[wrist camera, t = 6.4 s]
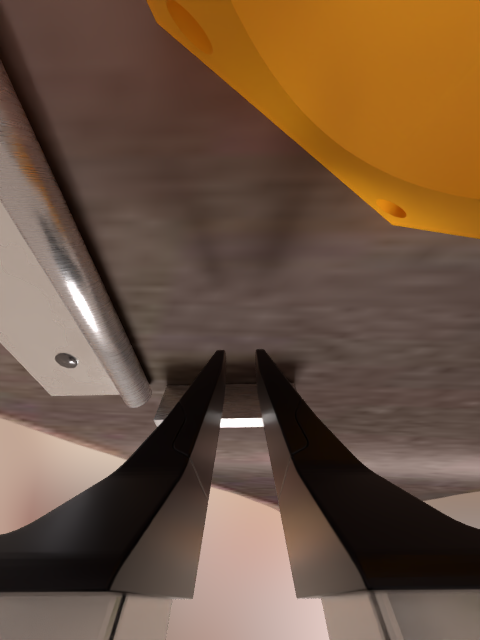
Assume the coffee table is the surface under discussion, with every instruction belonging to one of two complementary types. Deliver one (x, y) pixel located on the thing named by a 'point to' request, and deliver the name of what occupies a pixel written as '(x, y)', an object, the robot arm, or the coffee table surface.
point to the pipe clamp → (359, 92)
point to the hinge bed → (67, 289)
